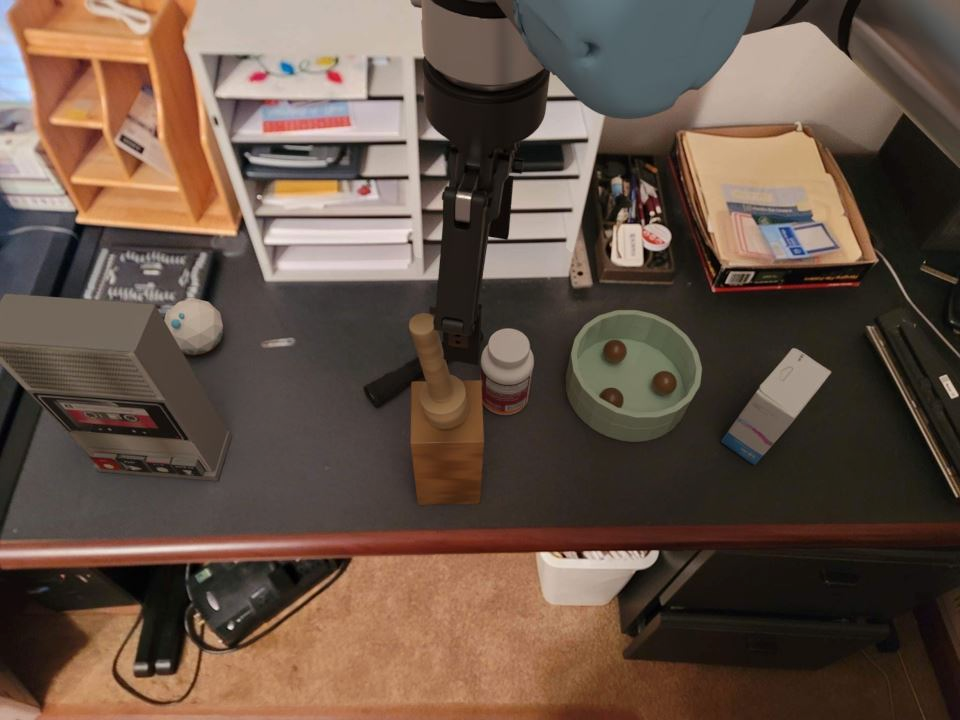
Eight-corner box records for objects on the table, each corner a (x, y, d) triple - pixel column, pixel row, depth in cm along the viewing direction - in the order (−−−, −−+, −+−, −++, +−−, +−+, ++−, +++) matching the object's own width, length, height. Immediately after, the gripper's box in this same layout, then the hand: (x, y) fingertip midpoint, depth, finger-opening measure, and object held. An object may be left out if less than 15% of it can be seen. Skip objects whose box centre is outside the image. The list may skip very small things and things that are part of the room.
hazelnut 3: (677, 395, 86) (684, 382, 84) (656, 402, 86) (662, 389, 83) (666, 376, 88) (672, 363, 86) (644, 383, 87) (650, 370, 85)
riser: (477, 448, 83) (481, 379, 70) (480, 503, 79) (484, 441, 66) (418, 449, 82) (411, 381, 70) (417, 505, 78) (410, 443, 66)
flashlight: (364, 394, 86) (361, 381, 84) (470, 330, 92) (470, 316, 90) (378, 411, 85) (375, 399, 82) (484, 345, 91) (484, 331, 88)
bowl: (710, 420, 86) (726, 394, 81) (597, 458, 82) (606, 433, 77) (651, 325, 94) (662, 297, 89) (546, 356, 90) (551, 328, 85)
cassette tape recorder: (97, 474, 79) (-30, 348, 59) (117, 427, 83) (3, 292, 62) (218, 484, 79) (133, 360, 58) (232, 436, 83) (157, 303, 62)
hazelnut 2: (625, 412, 85) (630, 400, 82) (603, 419, 84) (607, 407, 82) (614, 392, 86) (619, 379, 84) (592, 399, 86) (596, 386, 83)
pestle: (475, 420, 67) (456, 335, 55) (431, 435, 66) (403, 353, 55) (461, 384, 69) (440, 295, 58) (419, 398, 69) (389, 311, 57)
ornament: (179, 323, 92) (157, 283, 85) (234, 321, 92) (217, 282, 85) (169, 366, 88) (145, 328, 81) (226, 364, 88) (207, 326, 82)
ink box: (755, 468, 82) (795, 418, 72) (719, 442, 84) (753, 390, 74) (791, 422, 86) (834, 369, 76) (755, 398, 87) (792, 343, 78)
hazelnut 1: (628, 364, 89) (633, 350, 86) (607, 370, 88) (611, 357, 86) (617, 345, 90) (622, 332, 88) (597, 352, 90) (600, 338, 87)
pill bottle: (491, 367, 89) (495, 314, 80) (536, 385, 88) (545, 333, 79) (470, 405, 86) (472, 354, 77) (516, 424, 84) (524, 375, 75)
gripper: (466, -55, 48) (464, 185, 65) (362, 190, 34) (395, 412, 51) (575, -42, 47) (544, 197, 64) (516, 214, 33) (496, 430, 51)
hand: (478, 292), depth 58 cm, fingers open, 13 cm apart
